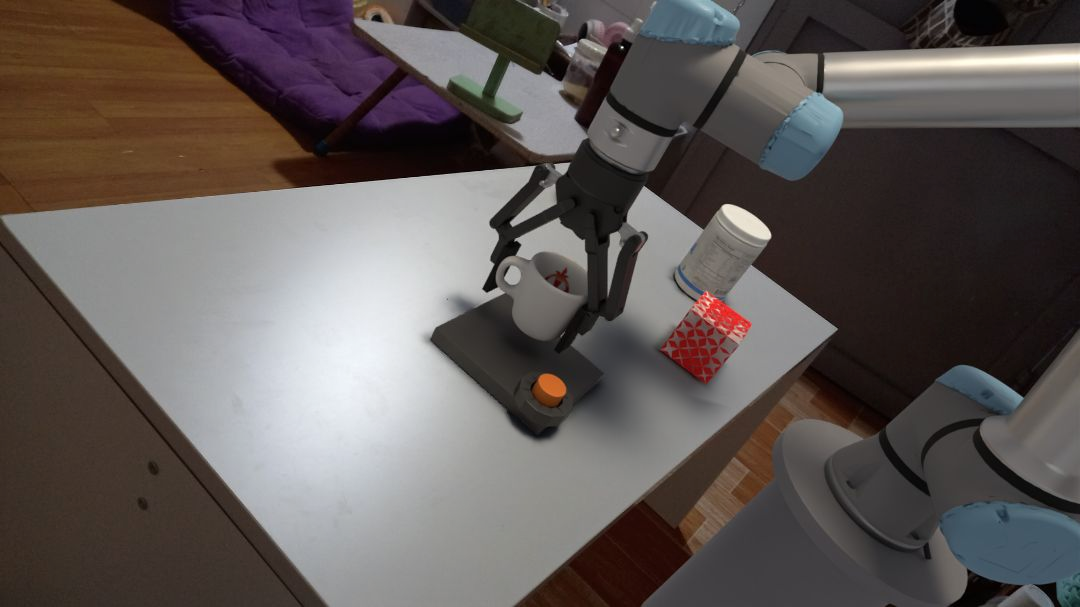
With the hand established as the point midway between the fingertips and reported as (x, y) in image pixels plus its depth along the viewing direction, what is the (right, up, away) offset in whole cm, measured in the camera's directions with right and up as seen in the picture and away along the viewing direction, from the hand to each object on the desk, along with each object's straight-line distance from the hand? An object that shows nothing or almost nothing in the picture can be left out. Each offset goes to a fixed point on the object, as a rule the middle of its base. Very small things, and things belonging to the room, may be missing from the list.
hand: (525, 317), depth 75 cm
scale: (-1, -5, 0) cm, 5 cm away
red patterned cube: (+23, -6, +18) cm, 30 cm away
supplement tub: (+29, +4, +36) cm, 46 cm away
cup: (0, 0, 0) cm, 1 cm away
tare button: (+2, -8, -7) cm, 11 cm away
